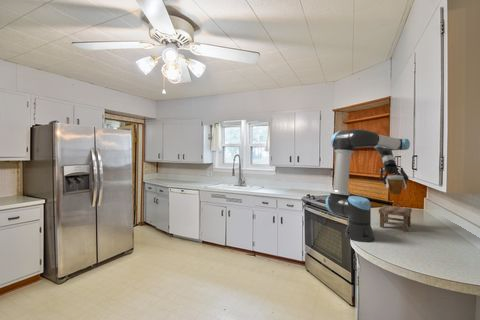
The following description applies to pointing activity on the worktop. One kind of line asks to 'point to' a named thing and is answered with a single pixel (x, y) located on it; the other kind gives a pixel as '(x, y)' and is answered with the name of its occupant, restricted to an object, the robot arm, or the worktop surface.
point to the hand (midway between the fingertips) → (396, 187)
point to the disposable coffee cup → (395, 184)
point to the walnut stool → (395, 211)
